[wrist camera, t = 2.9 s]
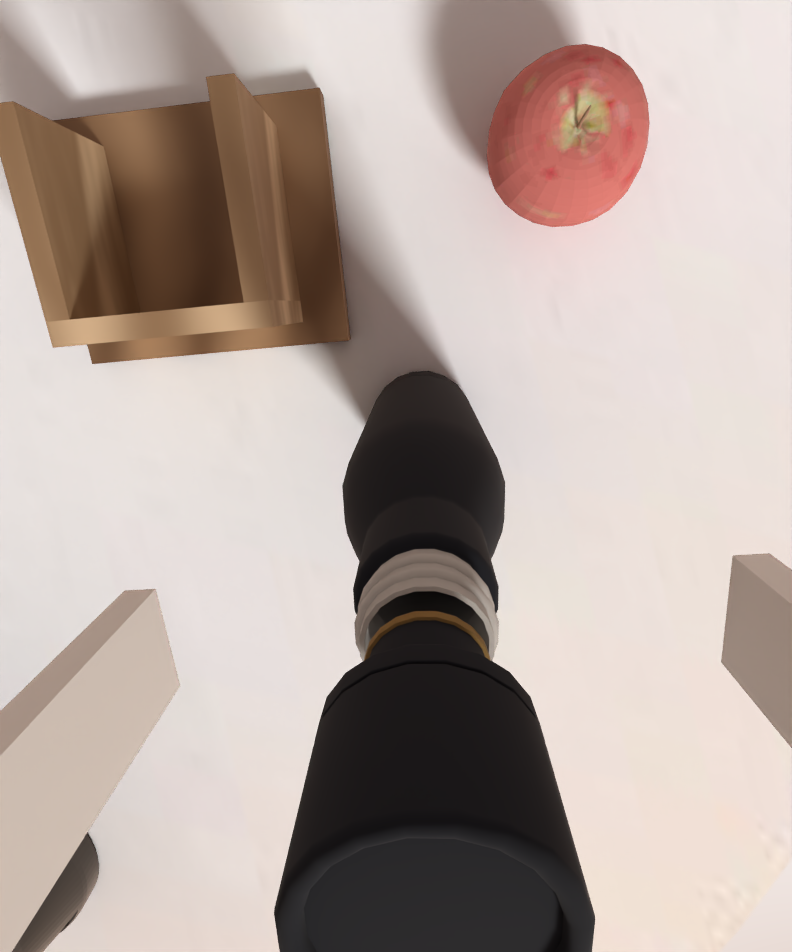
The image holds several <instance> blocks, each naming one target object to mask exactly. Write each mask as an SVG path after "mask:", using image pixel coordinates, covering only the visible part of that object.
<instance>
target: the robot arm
mask: <svg viewBox="0 0 792 952" xmlns="http://www.w3.org/2000/svg"><path fill="white" fill-rule="evenodd" d="M721 662H722V664H723V665H724V666H725V667H726V669H727V670H728V671H729V672H730V673H731V675H732V676H733V677H734V678H735V679H736V681H737V682H738V683H739V684H740V686H741V687H742V688H743V689H744V690H745V692H746V693H747V694H748V695H749V697H750V698H751V699H752V700H753V701H754V703H755V704H756V705H757V706H758V708H759V709H760V710H761V711H762V712H763V714H764V715H765V716H766V717H767V719H768V720H769V721H770V722H771V723H772V725H773V726H774V727H775V728H776V730H777V731H778V732H779V733H780V734H781V736H782V737H783V738H784V739H785V740H786V742H787V743H788V744H789V745H790V747H791V748H792V570H791V569H790V568H788V567H787V566H786V565H784V564H783V563H782V562H780V561H779V560H778V559H776V558H775V557H774V556H772V555H771V554H752V555H735V556H733V558H732V567H731V577H730V586H729V595H728V604H727V614H726V623H725V632H724V641H723V651H722V660H721ZM179 687H180V683H179V679H178V675H177V671H176V667H175V663H174V659H173V655H172V651H171V647H170V644H169V640H168V636H167V632H166V628H165V624H164V620H163V616H162V612H161V608H160V604H159V600H158V596H157V592H156V589H146V590H129V591H124V592H123V593H122V594H121V595H120V596H119V597H118V598H117V599H116V600H115V601H114V602H113V603H111V604H110V605H109V606H108V607H107V608H106V609H105V610H104V611H103V612H102V613H101V614H100V615H99V616H98V617H97V618H96V619H95V620H94V621H93V622H92V623H91V624H90V625H89V626H88V627H87V628H86V629H85V630H84V631H83V632H82V633H81V634H80V635H79V636H77V637H76V638H75V639H74V640H73V641H72V642H71V643H70V644H69V645H68V646H67V647H66V648H65V649H64V650H63V651H62V652H61V653H60V654H59V655H58V656H57V657H56V658H55V659H54V660H53V661H52V662H51V663H50V664H49V665H48V666H47V667H46V668H44V669H43V670H42V671H41V672H40V673H39V674H38V675H37V676H36V677H35V678H34V679H33V680H32V681H31V682H30V683H29V684H28V685H27V686H26V687H25V688H24V689H23V690H22V691H21V692H20V693H19V694H18V695H17V696H16V697H15V698H14V699H13V700H11V701H10V702H9V703H8V704H7V705H6V706H5V707H4V708H3V709H2V710H1V711H0V952H43V951H44V950H45V949H46V948H47V946H48V945H49V944H50V943H51V942H52V941H53V940H54V938H55V937H56V936H57V935H58V934H59V933H60V932H62V931H63V930H64V929H65V928H66V927H67V926H68V925H70V924H71V923H72V922H73V920H74V919H75V918H76V917H77V915H78V914H79V913H80V911H81V910H82V908H83V906H84V904H85V903H86V901H87V899H88V897H89V895H90V894H91V892H92V890H93V888H94V886H95V884H96V882H97V879H98V874H99V862H98V857H97V853H96V850H95V848H94V846H93V844H92V842H91V840H90V838H89V837H88V835H87V832H88V831H89V829H90V827H91V826H92V824H93V823H94V821H95V820H96V818H97V816H98V815H99V813H100V812H101V810H102V809H103V807H104V805H105V804H106V802H107V801H108V799H109V797H110V796H111V794H112V793H113V791H114V790H115V788H116V786H117V785H118V783H119V782H120V780H121V779H122V777H123V775H124V774H125V772H126V771H127V769H128V767H129V766H130V764H131V763H132V761H133V760H134V758H135V756H136V755H137V753H138V752H139V750H140V748H141V747H142V745H143V744H144V742H145V741H146V739H147V737H148V736H149V734H150V733H151V731H152V730H153V728H154V726H155V725H156V723H157V722H158V720H159V718H160V717H161V715H162V714H163V712H164V711H165V709H166V707H167V706H168V704H169V703H170V701H171V700H172V698H173V696H174V695H175V693H176V692H177V690H178V688H179Z"/></svg>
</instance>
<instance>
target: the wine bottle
mask: <svg viewBox="0 0 792 952" xmlns="http://www.w3.org/2000/svg"><path fill="white" fill-rule="evenodd" d="M343 500H344V515H345V524H346V529H347V534H348V537H349V539H350V541H351V544H352V546H353V548H354V551H355V553H356V555H357V557H358V559H359V561H360V562H359V566H358V570H357V575H356V579H355V583H354V588H353V592H354V607H355V612H356V614H357V616H356V620H355V637H356V645H357V647H358V649H359V651H360V656H361V658H362V661H363V662H362V663H360V664H358V665H357V666H355V667H354V668H352V669H351V670H349V671H348V672H346V673H345V674H344V676H343V677H342V678H341V680H340V681H339V682H338V684H337V685H336V686H335V687H334V689H333V690H332V691H331V693H330V694H329V695H328V696H327V698H326V702H325V705H324V708H323V712H322V715H321V719H320V722H319V725H318V730H317V734H316V738H315V743H314V747H313V750H312V755H311V759H310V763H309V767H308V771H307V776H306V780H305V784H304V788H303V792H302V796H301V801H300V805H299V809H298V813H297V817H296V822H295V826H294V830H293V834H292V838H291V842H290V847H289V851H288V855H287V859H286V863H285V868H284V872H283V876H282V880H281V884H280V888H279V893H278V897H277V901H276V905H275V910H274V916H275V922H276V929H277V936H278V943H279V949H280V952H592V944H593V935H594V925H595V915H594V911H593V908H592V904H591V901H590V897H589V894H588V890H587V887H586V883H585V880H584V876H583V873H582V869H581V866H580V862H579V859H578V855H577V852H576V848H575V845H574V841H573V838H572V834H571V831H570V827H569V824H568V820H567V817H566V813H565V810H564V806H563V803H562V800H561V796H560V793H559V789H558V786H557V782H556V779H555V775H554V772H553V768H552V765H551V761H550V758H549V754H548V751H547V747H546V744H545V740H544V737H543V733H542V730H541V726H540V723H539V720H538V717H537V715H536V712H535V709H534V706H533V703H532V700H531V697H530V696H529V695H528V693H527V692H526V691H525V690H524V689H523V688H522V686H521V685H520V684H519V683H518V682H517V680H516V679H515V678H514V677H513V676H512V674H511V673H510V672H509V671H507V670H505V669H504V668H502V667H500V666H499V665H497V664H496V663H494V662H492V659H493V657H494V652H495V649H496V647H497V644H498V628H499V621H498V618H497V616H496V613H497V610H498V584H497V580H496V576H495V573H494V569H493V566H492V562H491V558H492V556H493V554H494V552H495V549H496V547H497V544H498V541H499V539H500V536H501V533H502V529H503V523H504V506H505V481H504V478H503V475H502V471H501V468H500V465H499V462H498V459H497V457H496V455H495V453H494V451H493V449H492V447H491V445H490V443H489V441H488V439H487V437H486V435H485V433H484V431H483V429H482V427H481V425H480V423H479V421H478V419H477V417H476V415H475V413H474V411H473V409H472V407H471V405H470V403H469V401H468V399H467V397H466V396H465V395H464V393H463V392H462V391H461V389H460V388H459V387H458V385H457V384H455V383H454V382H452V381H451V380H449V379H448V378H447V377H445V376H443V375H440V374H436V373H433V372H429V371H424V372H411V373H408V374H405V375H403V376H400V377H397V378H396V379H395V380H394V381H392V382H391V383H390V384H389V385H387V386H386V387H385V388H384V390H383V391H382V393H381V394H380V396H379V397H378V399H377V400H376V402H375V405H374V407H373V409H372V412H371V414H370V416H369V418H368V421H367V423H366V425H365V427H364V430H363V432H362V434H361V436H360V439H359V441H358V443H357V445H356V448H355V450H354V452H353V454H352V457H351V459H350V461H349V464H348V468H347V471H346V475H345V479H344V483H343Z"/></svg>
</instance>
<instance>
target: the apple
mask: <svg viewBox="0 0 792 952" xmlns="http://www.w3.org/2000/svg"><path fill="white" fill-rule="evenodd" d="M648 132H649V113H648V103H647V99H646V96H645V93H644V89H643V86H642V84H641V82H640V80H639V79H638V77H637V75H636V74H635V72H634V71H633V69H632V68H631V67H630V66H629V65H628V64H627V63H626V62H625V61H624V60H623V59H622V58H621V57H620V56H618V55H616V54H614V53H612V52H611V51H609V50H607V49H605V48H603V47H598V46H592V45H587V44H582V45H572V46H565V47H563V48H560V49H557V50H555V51H552V52H550V53H547V54H545V55H543V56H542V57H540V58H539V59H538V60H536V61H535V62H533V63H532V64H530V65H529V66H527V67H526V68H524V69H523V70H522V71H521V72H520V73H519V75H518V76H517V77H516V78H515V79H514V80H513V81H512V82H511V83H510V84H509V86H508V87H507V88H506V89H505V90H504V92H503V94H502V96H501V98H500V101H499V103H498V105H497V107H496V109H495V112H494V115H493V119H492V122H491V126H490V130H489V138H488V148H487V161H488V169H489V175H490V178H491V180H492V183H493V186H494V189H495V191H496V192H497V193H498V195H499V196H500V198H501V199H502V201H503V202H504V203H505V205H507V206H508V207H509V208H510V209H512V210H513V211H514V212H515V213H517V214H518V215H519V216H521V217H523V218H525V219H527V220H529V221H531V222H533V223H537V224H541V225H546V226H550V227H559V226H573V225H577V224H580V223H584V222H587V221H590V220H593V219H595V218H596V217H598V216H600V215H602V214H603V213H605V212H607V211H608V210H610V209H611V208H612V207H613V206H614V205H615V204H616V203H617V202H618V201H619V200H620V199H621V198H622V197H623V196H624V194H625V193H626V192H627V191H628V189H629V187H630V186H631V184H632V182H633V180H634V178H635V177H636V175H637V173H638V171H639V169H640V167H641V164H642V161H643V158H644V155H645V151H646V148H647V142H648Z"/></svg>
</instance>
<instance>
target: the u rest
mask: <svg viewBox="0 0 792 952" xmlns="http://www.w3.org/2000/svg"><path fill="white" fill-rule="evenodd" d="M206 80H207V86H208V92H209V98H210V101H208V102H200V103H192V104H184V105H176V106H168V107H159V108H151V109H143V110H135V111H127V112H119V113H111V114H103V115H95V116H87V117H78V118H70V119H62V120H54V121H51V120H49V119H47V118H45V117H43V116H41V115H39V114H37V113H35V112H33V111H31V110H29V109H27V108H25V107H23V106H21V105H19V104H17V103H15V102H13V101H12V102H4V103H0V156H1V160H2V164H3V167H4V171H5V175H6V178H7V182H8V186H9V189H10V193H11V197H12V200H13V204H14V208H15V211H16V215H17V218H18V222H19V226H20V229H21V233H22V237H23V240H24V244H25V248H26V251H27V255H28V259H29V262H30V266H31V270H32V273H33V277H34V280H35V284H36V288H37V291H38V295H39V299H40V302H41V306H42V310H43V313H44V317H45V321H46V324H47V328H48V332H49V335H50V339H51V342H52V346H53V347H64V346H75V345H85V344H87V345H88V349H89V353H90V356H91V360H92V364H97V363H108V362H119V361H130V360H141V359H152V358H162V357H173V356H184V355H195V354H206V353H217V352H228V351H239V350H250V349H261V348H272V347H283V346H294V345H304V344H315V343H326V342H337V341H348V340H350V339H351V337H350V329H349V320H348V311H347V302H346V293H345V284H344V275H343V266H342V258H341V249H340V240H339V231H338V222H337V213H336V204H335V195H334V187H333V178H332V169H331V160H330V151H329V142H328V133H327V124H326V116H325V107H324V98H323V94H322V92H321V90H320V88H313V89H305V90H297V91H289V92H281V93H273V94H265V95H257V96H252V95H251V94H250V92H249V91H248V90H247V89H246V88H245V86H244V85H243V84H242V83H241V81H240V80H239V79H238V78H237V76H236V75H235V74H234V73H233V74H225V75H218V76H210V77H206Z"/></svg>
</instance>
